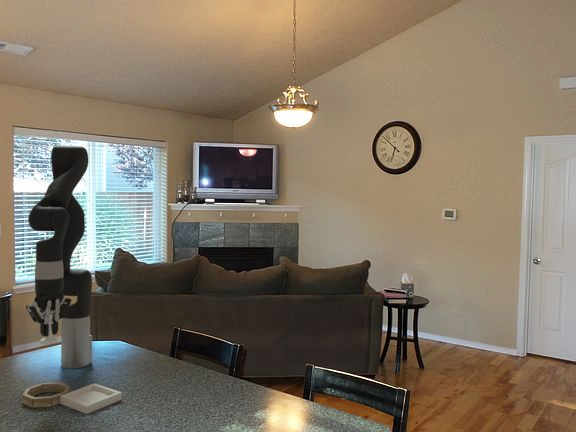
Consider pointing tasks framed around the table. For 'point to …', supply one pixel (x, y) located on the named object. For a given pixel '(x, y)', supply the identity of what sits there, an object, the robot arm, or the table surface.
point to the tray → (90, 398)
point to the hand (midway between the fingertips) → (49, 334)
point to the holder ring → (44, 401)
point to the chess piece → (49, 338)
